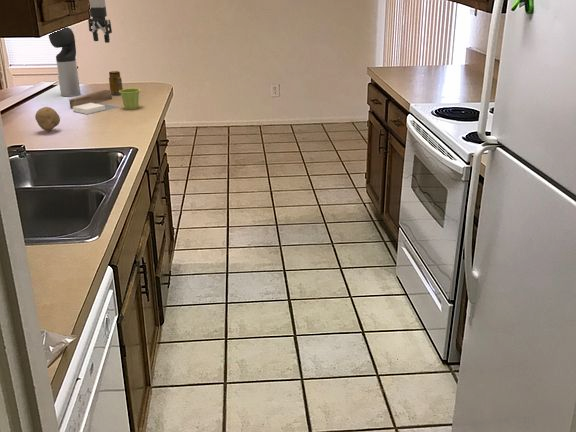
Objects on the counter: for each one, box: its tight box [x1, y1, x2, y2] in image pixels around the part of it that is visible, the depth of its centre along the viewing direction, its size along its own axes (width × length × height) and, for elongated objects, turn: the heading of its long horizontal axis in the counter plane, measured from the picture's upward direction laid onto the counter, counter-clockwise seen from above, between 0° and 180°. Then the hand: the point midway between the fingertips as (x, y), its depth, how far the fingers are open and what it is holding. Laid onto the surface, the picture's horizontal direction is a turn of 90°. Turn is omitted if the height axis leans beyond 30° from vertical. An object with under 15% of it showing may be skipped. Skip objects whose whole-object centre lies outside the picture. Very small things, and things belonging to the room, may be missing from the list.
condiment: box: [108, 70, 124, 96], centre depth 310 cm, size 7×8×12 cm
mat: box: [91, 102, 120, 114], centre depth 284 cm, size 14×15×1 cm
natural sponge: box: [35, 106, 61, 133], centre depth 248 cm, size 9×9×10 cm
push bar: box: [68, 89, 113, 110], centre depth 293 cm, size 4×24×5 cm, turn 153°
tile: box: [72, 103, 105, 115], centre depth 279 cm, size 10×2×10 cm
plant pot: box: [119, 87, 141, 110], centre depth 283 cm, size 9×9×9 cm
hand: (101, 41), depth 293 cm, fingers open, 8 cm apart
